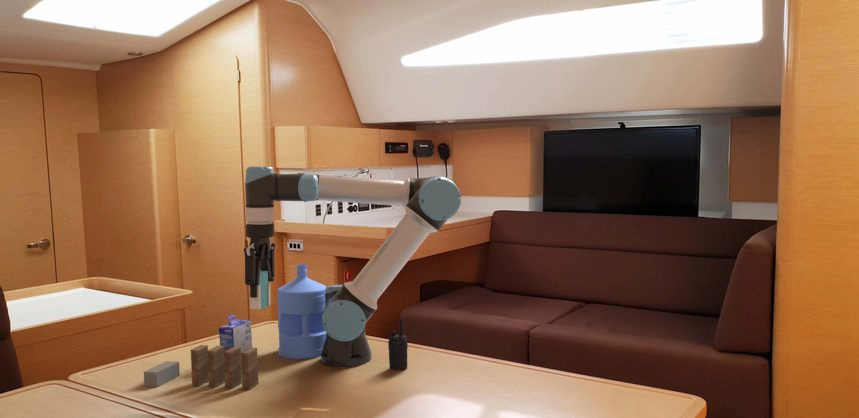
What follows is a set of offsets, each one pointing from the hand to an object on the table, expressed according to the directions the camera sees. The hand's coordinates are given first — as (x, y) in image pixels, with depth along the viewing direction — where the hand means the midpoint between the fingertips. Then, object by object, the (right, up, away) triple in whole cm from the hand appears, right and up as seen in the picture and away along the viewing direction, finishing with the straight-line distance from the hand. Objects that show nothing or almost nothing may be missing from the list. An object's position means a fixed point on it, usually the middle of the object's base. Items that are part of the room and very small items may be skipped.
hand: (260, 306), depth 182 cm
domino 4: (-1, -21, -5) cm, 21 cm away
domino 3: (-6, -21, -4) cm, 22 cm away
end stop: (-28, -21, +1) cm, 35 cm away
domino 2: (-11, -21, -3) cm, 24 cm away
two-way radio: (+38, -19, +7) cm, 43 cm away
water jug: (+7, -19, +26) cm, 33 cm away
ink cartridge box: (-11, -20, +17) cm, 28 cm away
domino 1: (-16, -21, -2) cm, 26 cm away
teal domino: (0, 0, 0) cm, 0 cm away
